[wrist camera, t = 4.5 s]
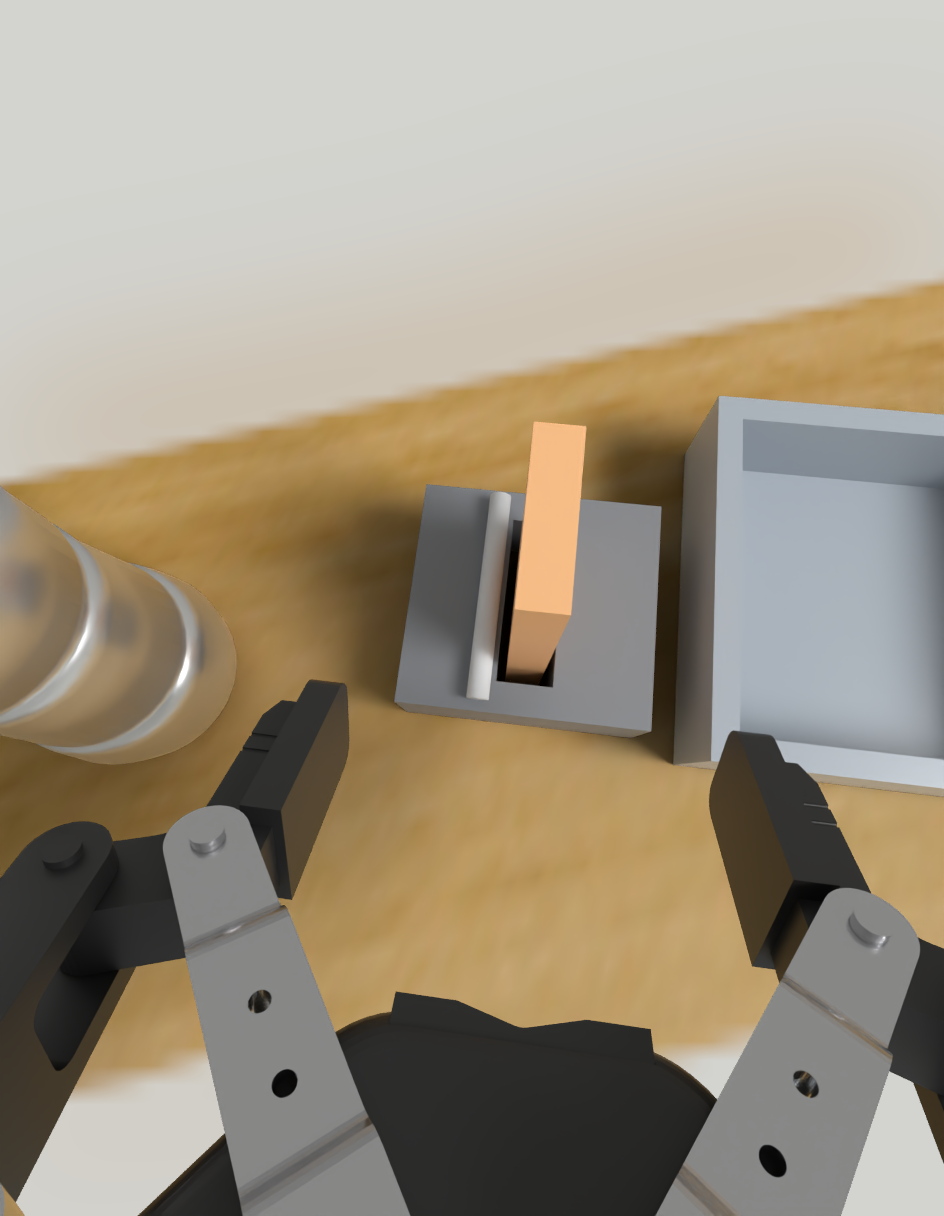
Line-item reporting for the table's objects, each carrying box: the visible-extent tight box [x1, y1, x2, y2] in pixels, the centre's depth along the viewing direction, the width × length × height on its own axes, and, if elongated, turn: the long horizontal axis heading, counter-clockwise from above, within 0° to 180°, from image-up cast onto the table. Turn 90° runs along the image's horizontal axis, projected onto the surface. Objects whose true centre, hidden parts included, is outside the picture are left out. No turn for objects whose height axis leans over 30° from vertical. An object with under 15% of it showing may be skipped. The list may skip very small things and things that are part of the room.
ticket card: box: [505, 422, 586, 685], centre depth 19 cm, size 1×4×10 cm, turn 173°
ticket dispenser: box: [394, 484, 661, 738], centre depth 22 cm, size 8×8×4 cm
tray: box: [673, 396, 944, 797], centre depth 22 cm, size 12×12×4 cm
